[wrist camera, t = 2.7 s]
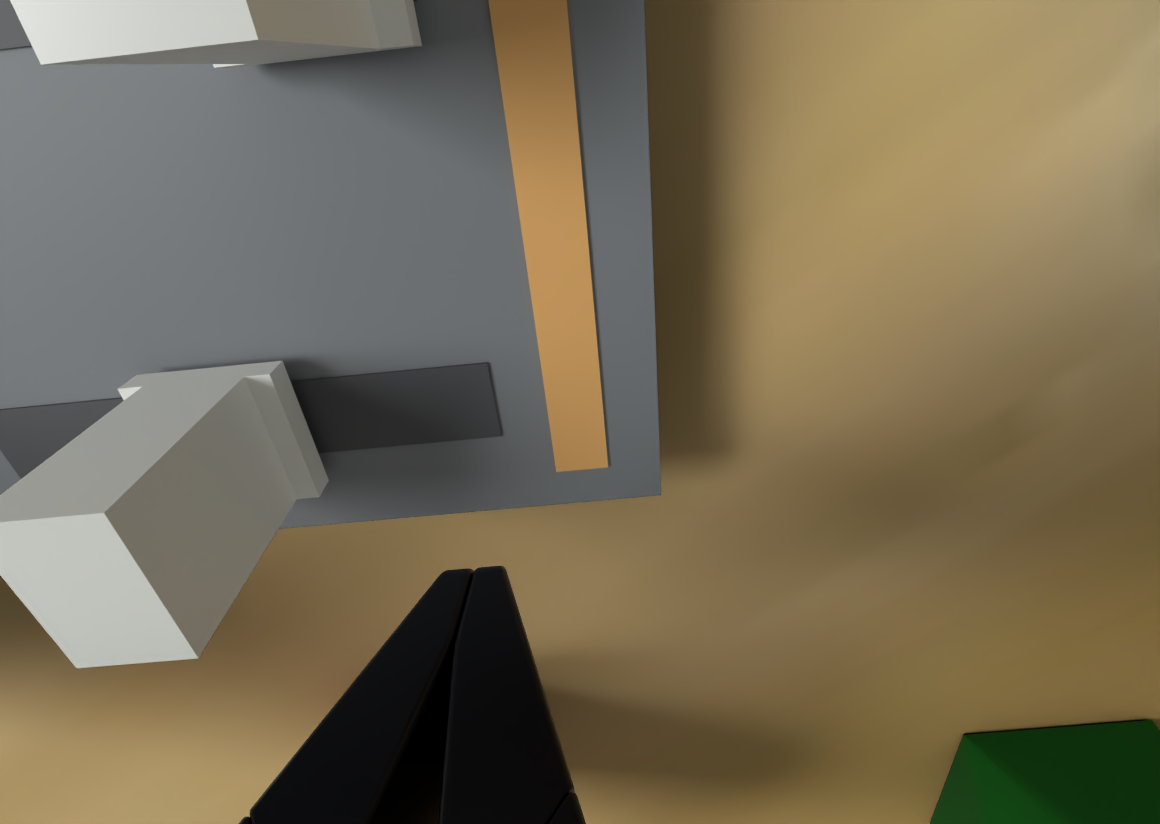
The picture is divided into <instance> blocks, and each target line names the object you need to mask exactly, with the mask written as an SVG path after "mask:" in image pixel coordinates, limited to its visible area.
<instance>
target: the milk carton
mask: <svg viewBox="0 0 1160 824" xmlns="http://www.w3.org/2000/svg"><path fill="white" fill-rule="evenodd" d="M930 824H1160V730H1159V729H1158V727H1157V726H1156V725H1155V724H1154V722H1153V721H1152V720H1145V721H1132V722H1119V723H1106V724H1094V725H1081V726H1069V727H1056V728H1043V729H1031V730H1018V731H1006V732H993V733H980V734H968V735H963V738H962V740H961V743H960V745H959V748H958V751H957V753H956V756H955V759H954V761H953V764H952V766H951V769H950V772H949V774H948V777H947V780H946V782H945V785H944V788H943V790H942V793H941V795H940V798H939V801H938V803H937V806H936V809H935V811H934V814H933V817H932V819H931V822H930Z"/></svg>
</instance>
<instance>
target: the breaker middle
mask: <svg viewBox="0 0 1160 824" xmlns="http://www.w3.org/2000/svg"><path fill="white" fill-rule="evenodd" d="M10 1H11V3H12V6H13V8H14V10H15V12H16V14H17V16H18V18H19V20H20V22H21V24H22V26H23V28H24V30H25V33H26V35H27V37H28V39H29V41H30V43H31V45H32V47H33V49H34V51H35V53H36V55H37V57H38V60H39V62H40V64H41V65H86V64H213V66H214V68H234V67H243V66H251V65H260V64H269V63H278V62H286V61H295V60H304V59H313V58H322V57H330V56H339V55H348V54H357V53H366V52H374V51H383V50H392V49H401V48H410V47H418V46H422V43H421V38H420V33H419V28H418V22H417V17H416V12H415V7H414V2H413V0H10Z"/></svg>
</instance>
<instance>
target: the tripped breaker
mask: <svg viewBox="0 0 1160 824" xmlns="http://www.w3.org/2000/svg"><path fill="white" fill-rule="evenodd" d="M118 391H119V393H120V395H121V396H122V398H123V400H124V401H123V402H122V403H120V404H119V405H118V406H116V407H115V408H114V409H112V410H111V411H110V412H108V413H107V414H106V415H104V416H103V417H102V418H101V419H99V420H98V421H97V422H95V423H94V424H93V425H91V426H90V427H89V428H87V429H86V430H85V431H84V432H82V433H81V434H80V435H78V436H77V437H76V438H74V439H73V440H72V441H70V442H69V443H68V444H66V445H65V446H64V447H63V448H61V449H60V450H59V451H57V452H56V453H55V454H53V455H52V456H51V457H49V458H48V459H47V460H45V461H44V462H43V463H42V464H40V465H39V466H38V467H36V468H35V469H34V470H32V471H31V472H30V473H28V474H27V475H26V476H25V477H23V478H22V479H21V480H19V481H18V482H17V483H15V484H14V485H13V486H11V487H10V488H9V489H7V490H6V491H5V492H4V493H2V494H1V495H0V576H1V577H2V578H3V579H4V580H5V582H6V583H7V584H8V585H9V586H10V588H11V589H12V590H13V591H14V593H15V594H16V595H17V596H18V597H19V599H20V600H21V601H22V602H23V604H24V605H25V606H26V607H27V608H28V610H29V611H30V612H31V613H32V615H33V616H34V617H35V618H36V619H37V621H38V622H39V623H40V624H41V625H42V627H43V628H44V629H45V630H46V632H47V633H48V634H49V635H50V636H51V638H52V639H53V640H54V641H55V643H56V644H57V645H58V646H59V647H60V649H61V650H62V651H63V652H64V654H65V655H66V656H67V657H68V658H69V660H70V661H71V662H72V663H73V665H74V666H75V667H76V668H87V667H99V666H111V665H124V664H136V663H148V662H160V661H172V660H185V659H197V658H199V657H200V655H201V653H202V652H203V650H204V648H205V647H206V645H207V644H208V642H209V640H210V639H211V637H212V636H213V634H214V632H215V631H216V629H217V627H218V626H219V624H220V623H221V621H222V619H223V618H224V616H225V614H226V613H227V611H228V610H229V608H230V606H231V605H232V603H233V602H234V600H235V598H236V597H237V595H238V593H239V592H240V590H241V589H242V587H243V585H244V584H245V582H246V581H247V579H248V577H249V576H250V574H251V572H252V571H253V569H254V568H255V566H256V564H257V563H258V561H259V559H260V558H261V556H262V555H263V553H264V551H265V550H266V548H267V547H268V545H269V543H270V542H271V540H272V538H273V537H274V535H275V534H276V532H277V530H278V529H279V527H280V526H281V524H282V522H283V521H284V519H285V517H286V516H287V514H288V513H289V511H290V509H291V508H292V506H293V504H294V503H295V501H296V500H297V499H305V498H316V497H320V495H321V493H322V492H323V490H324V488H325V486H326V485H327V483H328V481H329V480H328V477H327V474H326V472H325V469H324V467H323V464H322V462H321V459H320V456H319V454H318V451H317V449H316V446H315V443H314V441H313V438H312V436H311V433H310V431H309V428H308V425H307V423H306V420H305V418H304V415H303V412H302V410H301V407H300V405H299V402H298V400H297V397H296V394H295V392H294V389H293V387H292V384H291V382H290V379H289V376H288V374H287V371H286V369H285V366H284V363H283V361H274V362H263V363H253V364H243V365H233V366H222V367H212V368H202V369H192V370H181V371H171V372H161V373H151V374H140V375H136V376H134V377H133V378H132V379H130V380H129V381H128V382H126V383H125V384H123V385H122V386H121V387H119V388H118Z"/></svg>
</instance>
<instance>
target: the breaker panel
mask: <svg viewBox="0 0 1160 824" xmlns="http://www.w3.org/2000/svg"><path fill="white" fill-rule="evenodd" d="M413 2H414V7H415V12H416V17H417V22H418V28H419V33H420V38H421V43H422V46H418V47H410V48H401V49H392V50H383V51H374V52H366V53H357V54H348V55H339V56H330V57H322V58H313V59H304V60H295V61H286V62H278V63H269V64H260V65H251V66H243V67H234V68H214V66H213V64H86V65H41V64H40V62H39V60H38V57H37V55H36V53H35V51H34V49H33V47H32V45H31V43H30V41H29V39H28V37H27V35H26V33H25V30H24V28H23V26H22V24H21V22H20V20H19V18H18V16H17V14H16V12H15V10H14V8H13V6H12V3H11V1H10V0H0V495H1V494H2V493H4V492H5V491H6V490H7V489H9V488H10V487H11V486H13V485H14V484H15V483H17V482H18V481H19V480H21V479H22V478H23V477H25V476H26V475H27V474H28V473H30V472H31V471H32V470H34V469H35V468H36V467H38V466H39V465H40V464H42V463H43V462H44V461H45V460H47V459H48V458H49V457H51V456H52V455H53V454H55V453H56V452H57V451H59V450H60V449H61V448H63V447H64V446H65V445H66V444H68V443H69V442H70V441H72V440H73V439H74V438H76V437H77V436H78V435H80V434H81V433H82V432H84V431H85V430H86V429H87V428H89V427H90V426H91V425H93V424H94V423H95V422H97V421H98V420H99V419H101V418H102V417H103V416H104V415H106V414H107V413H108V412H110V411H111V410H112V409H114V408H115V407H116V406H118V405H119V404H120V403H122V402H123V401H124V400H123V398H122V396H121V395H120V393H119V391H118V388H119V387H121V386H122V385H123V384H125V383H126V382H128V381H129V380H130V379H132V378H133V377H134V376H136V375H140V374H151V373H161V372H171V371H181V370H192V369H202V368H212V367H222V366H233V365H243V364H253V363H263V362H274V361H283V363H284V366H285V369H286V371H287V374H288V376H289V379H290V382H291V384H292V387H293V389H294V392H295V394H296V397H297V400H298V402H299V405H300V407H301V410H302V412H303V415H304V418H305V420H306V423H307V425H308V428H309V431H310V433H311V436H312V438H313V441H314V443H315V446H316V449H317V451H318V454H319V456H320V459H321V462H322V464H323V467H324V469H325V472H326V474H327V477H328V480H329V481H328V483H327V485H326V486H325V488H324V490H323V492H322V493H321V495H320V497H316V498H305V499H297V500H296V501H295V503H294V504H293V506H292V508H291V509H290V511H289V513H288V514H287V516H286V517H285V519H284V521H283V522H282V524H281V526H280V527H279V529H283V528H294V527H306V526H317V525H328V524H340V523H351V522H362V521H374V520H385V519H396V518H408V517H419V516H430V515H442V514H453V513H464V512H475V511H487V510H498V509H509V508H521V507H532V506H543V505H555V504H566V503H577V502H589V501H600V500H611V499H622V498H634V497H645V496H656V495H661V476H660V447H659V418H658V389H657V359H656V330H655V301H654V272H653V243H652V214H651V185H650V155H649V126H648V97H647V68H646V39H645V10H644V0H413Z"/></svg>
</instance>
